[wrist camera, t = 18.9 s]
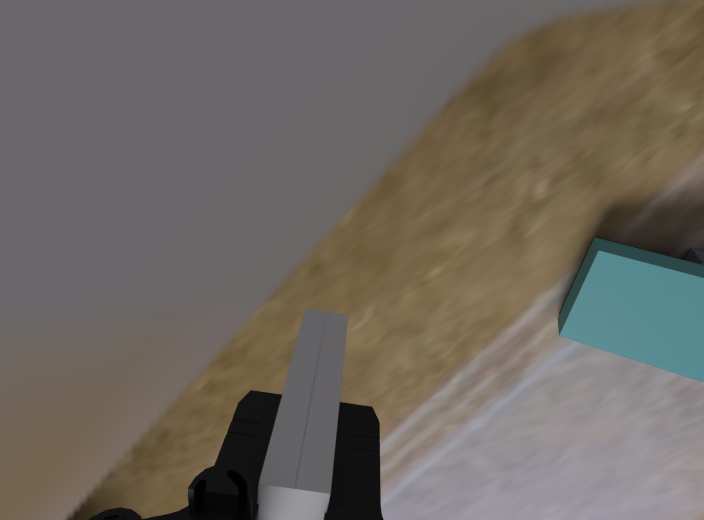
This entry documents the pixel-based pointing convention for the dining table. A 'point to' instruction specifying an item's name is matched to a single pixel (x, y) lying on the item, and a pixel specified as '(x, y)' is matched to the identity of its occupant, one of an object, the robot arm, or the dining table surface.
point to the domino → (638, 307)
